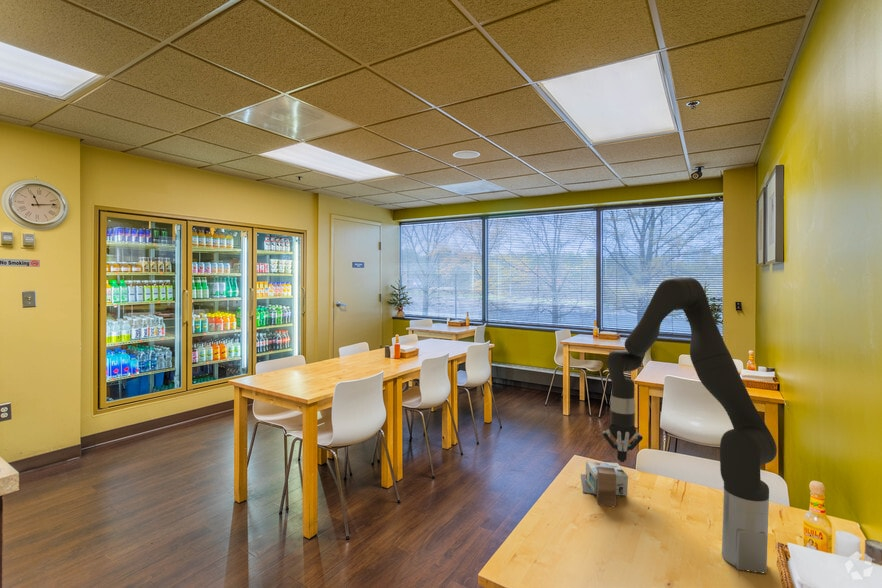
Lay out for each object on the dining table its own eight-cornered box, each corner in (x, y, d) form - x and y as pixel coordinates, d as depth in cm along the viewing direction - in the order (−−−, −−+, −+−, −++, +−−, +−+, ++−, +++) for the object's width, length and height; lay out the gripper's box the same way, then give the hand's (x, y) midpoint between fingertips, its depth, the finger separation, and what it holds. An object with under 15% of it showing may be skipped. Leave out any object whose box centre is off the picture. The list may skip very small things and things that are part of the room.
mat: (619, 497, 141) (619, 496, 141) (583, 493, 143) (583, 491, 143) (613, 478, 154) (613, 477, 154) (580, 475, 157) (580, 474, 157)
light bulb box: (628, 475, 141) (594, 474, 141) (628, 496, 141) (594, 494, 141) (617, 462, 151) (585, 460, 152) (616, 481, 152) (584, 479, 152)
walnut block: (615, 506, 135) (616, 474, 135) (598, 504, 136) (598, 472, 136) (613, 499, 140) (614, 468, 139) (596, 497, 141) (597, 466, 141)
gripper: (602, 411, 144) (601, 463, 145) (646, 414, 141) (645, 467, 141) (600, 405, 151) (599, 454, 152) (641, 408, 148) (640, 459, 149)
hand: (621, 461), depth 147 cm, fingers closed
